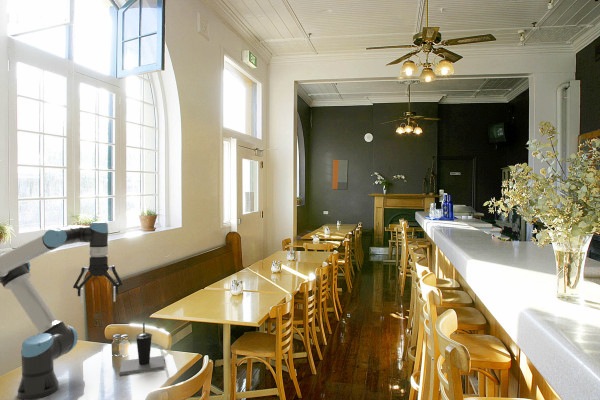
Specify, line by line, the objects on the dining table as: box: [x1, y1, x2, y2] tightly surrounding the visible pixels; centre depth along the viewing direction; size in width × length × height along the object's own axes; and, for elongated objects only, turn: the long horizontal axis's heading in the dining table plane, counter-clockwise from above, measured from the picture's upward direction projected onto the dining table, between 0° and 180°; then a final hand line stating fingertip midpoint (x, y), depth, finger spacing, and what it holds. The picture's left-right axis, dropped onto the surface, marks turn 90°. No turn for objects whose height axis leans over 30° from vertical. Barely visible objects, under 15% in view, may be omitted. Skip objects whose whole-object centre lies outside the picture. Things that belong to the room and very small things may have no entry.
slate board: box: [119, 355, 165, 376], centre depth 210 cm, size 20×14×2 cm
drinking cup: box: [135, 322, 153, 365], centre depth 211 cm, size 8×8×20 cm
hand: (98, 302), depth 195 cm, fingers open, 13 cm apart
